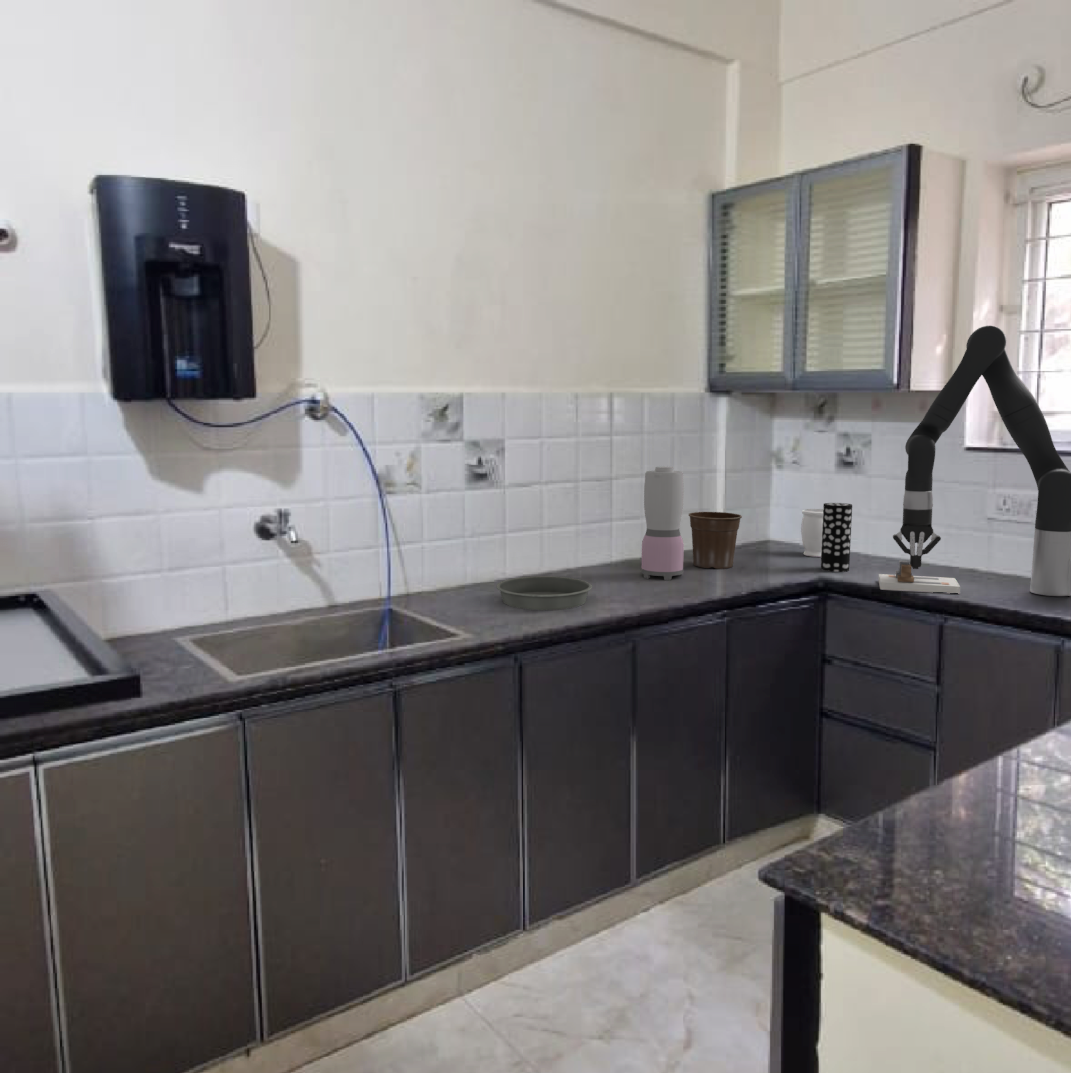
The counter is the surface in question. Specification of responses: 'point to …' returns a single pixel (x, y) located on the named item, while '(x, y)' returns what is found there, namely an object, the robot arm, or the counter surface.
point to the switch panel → (919, 584)
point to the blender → (663, 523)
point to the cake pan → (544, 592)
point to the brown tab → (905, 574)
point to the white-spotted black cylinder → (836, 537)
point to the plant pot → (714, 538)
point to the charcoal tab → (900, 566)
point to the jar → (812, 532)
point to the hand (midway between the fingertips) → (915, 568)
